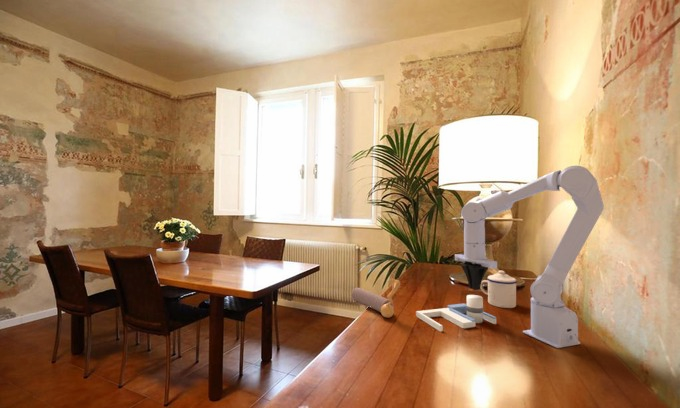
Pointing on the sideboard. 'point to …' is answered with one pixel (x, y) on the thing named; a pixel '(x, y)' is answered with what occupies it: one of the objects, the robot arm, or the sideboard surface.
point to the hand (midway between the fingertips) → (474, 288)
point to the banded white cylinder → (475, 308)
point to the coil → (369, 299)
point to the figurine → (387, 308)
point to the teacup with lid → (501, 290)
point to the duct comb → (452, 316)
